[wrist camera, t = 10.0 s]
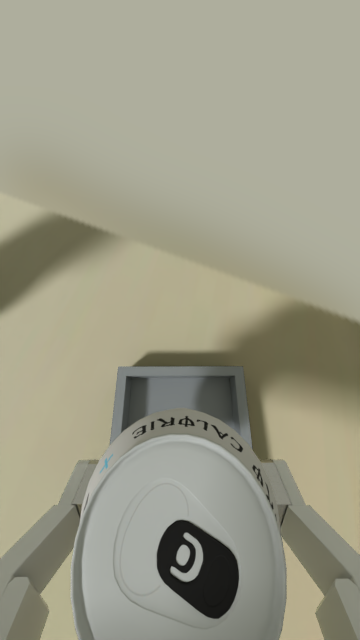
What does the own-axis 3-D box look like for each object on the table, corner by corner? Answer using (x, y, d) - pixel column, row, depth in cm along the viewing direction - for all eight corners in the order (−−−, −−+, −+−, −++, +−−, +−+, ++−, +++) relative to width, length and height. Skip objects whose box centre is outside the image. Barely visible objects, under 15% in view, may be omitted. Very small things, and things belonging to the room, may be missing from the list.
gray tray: (112, 509, 21) (100, 529, 18) (125, 371, 27) (118, 366, 23) (249, 509, 21) (261, 529, 18) (235, 370, 26) (243, 366, 23)
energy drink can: (168, 395, 20) (137, 370, 6) (226, 428, 19) (343, 487, 5) (134, 460, 18) (-22, 635, 4) (196, 502, 17) (261, 927, 3)
